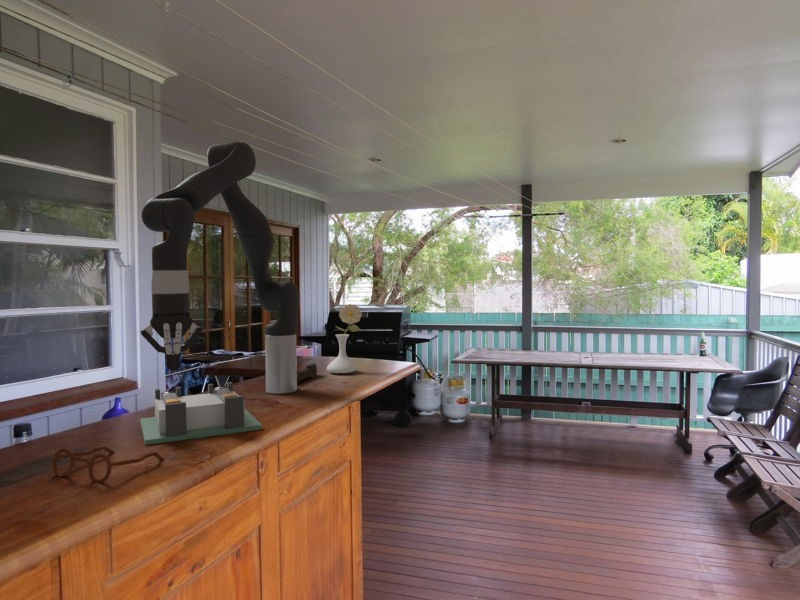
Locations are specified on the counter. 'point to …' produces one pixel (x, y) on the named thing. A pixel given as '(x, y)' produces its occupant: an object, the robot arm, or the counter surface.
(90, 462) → the glasses
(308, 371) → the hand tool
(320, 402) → the counter surface
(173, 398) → the strap
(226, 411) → the base
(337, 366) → the flower in vase
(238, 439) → the counter surface
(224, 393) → the strap
